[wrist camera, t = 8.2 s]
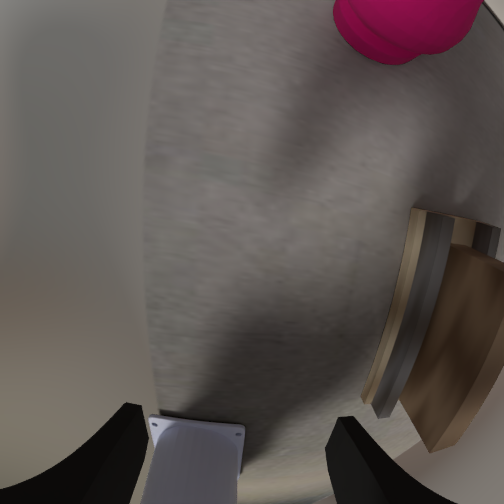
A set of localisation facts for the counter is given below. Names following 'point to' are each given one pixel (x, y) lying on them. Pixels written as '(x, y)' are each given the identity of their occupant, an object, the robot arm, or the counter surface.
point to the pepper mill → (403, 26)
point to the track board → (418, 298)
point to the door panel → (458, 349)
